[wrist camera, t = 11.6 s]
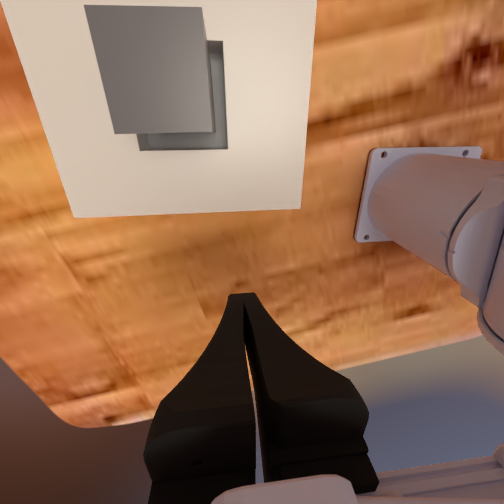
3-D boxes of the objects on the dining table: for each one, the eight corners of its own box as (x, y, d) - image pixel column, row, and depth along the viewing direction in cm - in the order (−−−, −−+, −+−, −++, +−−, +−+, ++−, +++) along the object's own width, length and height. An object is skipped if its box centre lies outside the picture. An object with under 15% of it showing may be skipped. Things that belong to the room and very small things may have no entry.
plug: (210, 62, 16) (201, 7, 9) (216, 131, 18) (212, 131, 11) (146, 63, 16) (83, 4, 8) (158, 133, 17) (114, 134, 10)
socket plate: (306, -34, 15) (321, -64, 12) (292, 200, 21) (300, 208, 19) (13, -50, 13) (-30, -87, 11) (91, 208, 19) (74, 218, 17)
